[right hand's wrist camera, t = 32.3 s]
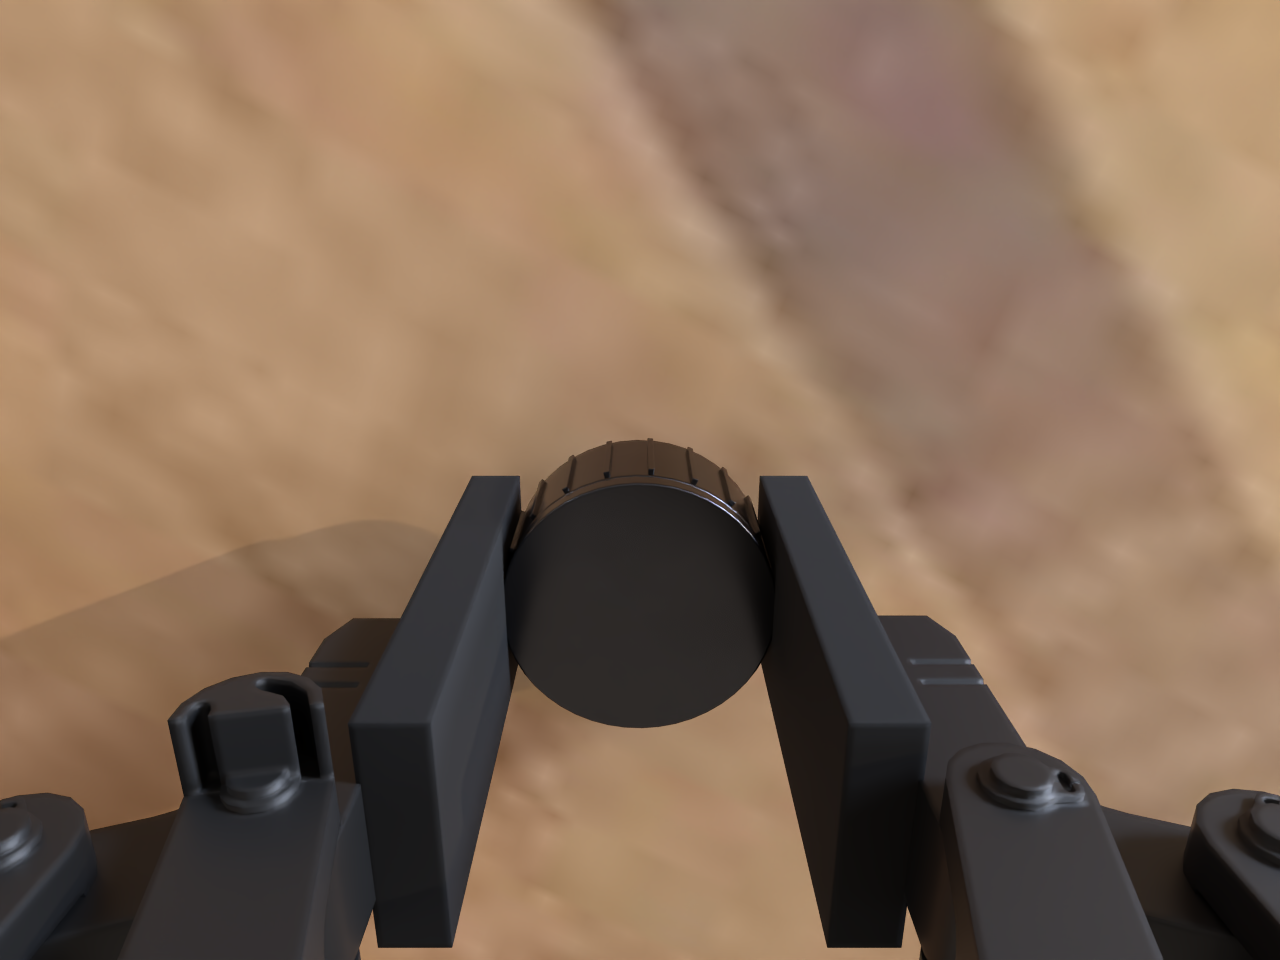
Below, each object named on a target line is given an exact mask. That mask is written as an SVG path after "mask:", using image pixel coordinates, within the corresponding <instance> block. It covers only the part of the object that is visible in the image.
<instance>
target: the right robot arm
mask: <svg viewBox="0 0 1280 960" xmlns="http://www.w3.org/2000/svg"><path fill="white" fill-rule="evenodd" d="M520 513H521V495H520V476H472V477H471V479H470V481H469V483H468V485H467V487H466V489H465V491H464V493H463V495H462V497H461V499H460V501H459V503H458V505H457V507H456V509H455V511H454V513H453V515H452V517H451V519H450V521H449V523H448V525H447V527H446V529H445V531H444V533H443V535H442V537H441V539H440V541H439V543H438V545H437V547H436V549H435V551H434V553H433V555H432V557H431V559H430V561H429V563H428V565H427V567H426V569H425V571H424V573H423V575H422V577H421V579H420V581H419V583H418V585H417V587H416V589H415V591H414V593H413V595H412V597H411V599H410V601H409V603H408V605H407V607H406V609H405V611H404V613H403V615H402V617H401V618H353V619H352V620H350V621H349V622H348V623H346V624H345V625H343V626H342V627H340V628H339V629H338V630H336V631H335V632H333V633H332V634H331V635H329V636H328V637H326V638H325V639H324V640H323V642H322V643H321V645H320V646H319V648H318V650H317V651H316V653H315V654H314V656H313V657H312V659H311V661H310V662H309V667H306V668H305V670H304V672H303V673H302V675H301V676H300V675H296V674H293V673H289V672H259V673H254V674H249V675H244V676H239V677H234V678H230V679H228V680H225V681H223V682H220V683H217V684H215V685H212V686H210V687H207V688H205V689H203V690H201V691H200V692H198V693H197V694H195V695H194V696H192V697H191V698H189V699H188V700H186V701H184V702H183V703H181V705H180V706H179V707H178V708H177V709H176V711H175V712H174V713H173V714H172V716H171V717H170V718H169V719H168V720H167V721H168V725H169V730H170V734H171V739H172V744H173V748H174V753H175V757H176V762H177V767H178V771H179V776H180V780H181V785H182V789H183V794H184V798H183V800H182V803H181V805H180V808H179V809H178V810H175V811H172V812H168V813H165V814H161V815H158V816H154V817H151V818H146V819H141V820H137V821H132V822H127V823H123V824H118V825H113V826H109V827H104V828H100V829H95V830H90V831H89V828H88V824H87V820H86V817H85V813H84V809H83V808H82V807H81V806H80V805H79V804H77V803H76V802H75V801H74V800H73V799H72V798H71V797H66V796H61V795H56V794H51V793H40V794H29V795H19V796H14V797H11V798H6V799H2V800H1V801H0V960H361V958H360V951H359V947H360V944H361V941H362V938H363V935H364V932H365V930H366V927H367V924H368V921H369V918H370V915H371V912H372V909H373V914H374V921H375V929H376V936H377V944H378V948H452V946H453V941H454V937H455V933H456V929H457V924H458V920H459V916H460V911H461V907H462V903H463V899H464V894H465V890H466V886H467V881H468V877H469V873H470V869H471V864H472V860H473V856H474V851H475V847H476V843H477V838H478V834H479V830H480V826H481V821H482V817H483V813H484V808H485V804H486V800H487V796H488V791H489V787H490V783H491V778H492V774H493V770H494V765H495V761H496V757H497V753H498V748H499V744H500V740H501V735H502V731H503V727H504V723H505V718H506V714H507V710H508V705H509V701H510V697H511V692H512V688H513V684H514V680H515V675H516V671H517V667H518V663H517V661H516V660H515V658H514V656H513V654H512V652H511V649H510V647H509V645H508V642H507V629H506V612H505V595H504V578H505V574H506V571H507V568H508V564H509V561H510V558H511V555H512V553H509V552H508V550H509V547H510V544H511V541H512V538H513V535H514V532H515V529H516V525H517V522H518V519H519V516H520ZM758 524H759V527H760V530H761V533H762V539H763V543H764V546H765V549H766V552H767V556H768V559H769V562H770V565H771V569H772V573H773V576H774V580H775V601H774V618H773V634H772V641H771V643H770V645H769V648H768V650H767V652H766V655H765V657H764V658H763V660H762V662H761V665H762V669H763V673H764V678H765V682H766V686H767V691H768V695H769V699H770V703H771V708H772V712H773V716H774V721H775V725H776V729H777V734H778V738H779V742H780V746H781V751H782V755H783V759H784V764H785V768H786V772H787V776H788V781H789V785H790V789H791V794H792V798H793V802H794V807H795V811H796V815H797V819H798V824H799V828H800V832H801V837H802V841H803V845H804V850H805V854H806V858H807V862H808V867H809V871H810V875H811V880H812V884H813V888H814V892H815V897H816V901H817V905H818V910H819V914H820V918H821V923H822V927H823V931H824V935H825V940H826V944H827V948H901V947H902V939H903V932H904V924H905V917H906V910H907V907H908V910H909V912H910V915H911V918H912V921H913V924H914V927H915V930H916V932H917V935H918V938H919V941H920V944H921V951H920V958H919V960H1280V796H1279V795H1274V794H1270V793H1266V792H1262V791H1251V790H1240V789H1230V790H1225V791H1219V792H1214V793H1210V794H1209V795H1207V796H1206V797H1205V798H1204V799H1203V800H1202V801H1201V802H1200V803H1198V804H1197V806H1196V810H1195V814H1194V817H1193V821H1192V825H1191V827H1189V826H1184V825H1179V824H1175V823H1170V822H1166V821H1161V820H1156V819H1152V818H1147V817H1142V816H1138V815H1133V814H1128V813H1125V812H1121V811H1118V810H1114V809H1111V808H1107V807H1104V806H1101V805H1100V804H1099V801H1098V799H1097V796H1096V795H1095V793H1094V792H1093V790H1092V789H1091V787H1090V786H1089V785H1088V783H1087V782H1086V780H1085V779H1084V777H1083V776H1081V775H1080V774H1079V773H1077V772H1076V771H1075V770H1073V769H1072V768H1071V767H1069V766H1068V765H1067V764H1065V763H1064V762H1063V761H1061V760H1059V759H1057V758H1054V757H1052V756H1050V755H1048V754H1045V753H1043V752H1041V751H1039V750H1036V749H1033V748H1029V747H1026V745H1025V744H1024V742H1023V741H1022V739H1021V737H1020V736H1019V734H1018V733H1017V731H1016V730H1015V728H1014V727H1013V725H1012V723H1011V722H1010V720H1009V719H1008V717H1007V716H1006V714H1005V712H1004V711H1003V709H1002V708H1001V706H1000V705H999V703H998V702H997V700H996V698H995V697H994V695H993V694H992V692H991V691H990V689H989V688H988V686H987V684H984V683H983V678H982V677H981V675H980V673H979V672H978V670H977V669H976V667H975V666H974V664H971V659H970V658H969V656H968V655H967V653H966V652H965V650H964V649H963V647H962V645H961V644H960V642H959V641H958V639H957V638H956V636H955V635H953V634H952V633H950V632H949V631H948V630H946V629H945V628H943V627H942V626H941V625H939V624H938V623H936V622H935V621H933V620H932V619H931V618H929V617H928V616H877V614H876V612H875V610H874V608H873V606H872V604H871V602H870V600H869V598H868V596H867V594H866V592H865V590H864V588H863V586H862V584H861V582H860V580H859V578H858V576H857V574H856V572H855V570H854V568H853V566H852V564H851V562H850V560H849V558H848V556H847V554H846V552H845V550H844V548H843V546H842V544H841V542H840V540H839V538H838V536H837V534H836V532H835V530H834V528H833V526H832V524H831V522H830V520H829V518H828V516H827V514H826V512H825V510H824V508H823V506H822V504H821V502H820V501H819V499H818V497H817V495H816V493H815V491H814V489H813V487H812V485H811V483H810V481H809V479H808V477H807V476H760V484H759V504H758Z"/></svg>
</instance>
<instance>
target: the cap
mask: <svg viewBox="0 0 1280 960" xmlns="http://www.w3.org/2000/svg"><path fill="white" fill-rule="evenodd" d="M508 552H509V553H512V555H511V558H510V561H509V564H508V568H507V571H506V574H505V578H504V595H505V612H506V629H507V642H508V645H509V647H510V649H511V652H512V654H513V656H514V658H515V660H516V661H517V663H518V665H519V666H520V668H521V669H522V671H523V672H524V674H525V675H526V676H527V677H528V678H529V680H530V681H531V682H532V683H533V684H534V685H535V686H536V687H537V688H538V689H539V690H540V691H541V692H542V693H543V694H545V695H546V696H547V697H548V698H549V699H551V700H552V701H554V702H555V703H557V704H558V705H559V706H561V707H563V708H565V709H567V710H568V711H570V712H572V713H574V714H576V715H579V716H581V717H584V718H586V719H589V720H591V721H595V722H599V723H603V724H606V725H612V726H619V727H627V728H649V727H661V726H666V725H671V724H676V723H680V722H683V721H686V720H689V719H692V718H695V717H697V716H699V715H702V714H704V713H706V712H708V711H710V710H712V709H713V708H715V707H717V706H719V705H720V704H722V703H723V702H725V701H726V700H727V699H729V698H730V697H731V696H733V695H734V694H735V693H736V692H737V691H738V690H739V689H740V688H741V687H742V686H743V685H744V684H745V683H746V682H747V681H748V680H749V679H750V677H751V676H752V675H753V674H754V672H755V671H756V670H757V668H758V667H759V665H760V663H761V662H762V660H763V658H764V657H765V655H766V652H767V650H768V648H769V645H770V643H771V641H772V634H773V618H774V601H775V580H774V576H773V573H772V569H771V565H770V562H769V559H768V556H767V552H766V549H765V546H764V543H763V539H762V533H761V530H760V527H759V524H758V520H757V517H756V514H755V511H754V508H753V505H752V501H751V499H750V497H749V496H746V497H745V495H744V494H743V493H742V491H741V490H740V488H739V487H738V486H737V484H736V483H735V482H734V481H733V480H732V479H731V478H730V477H729V476H728V474H727V470H726V469H725V468H724V467H722V468H721V469H720V468H719V467H718V466H717V465H715V464H714V463H712V462H711V461H709V460H708V459H706V458H704V457H703V456H701V455H699V454H697V453H695V452H693V449H692V448H690V447H688V448H687V449H686V448H682V447H679V446H676V445H673V444H669V443H663V442H657V441H653V439H651V438H648V439H647V441H646V440H632V441H620V442H615V443H612V441H608V442H607V443H606V444H605V445H602V446H599V447H596V448H593V449H590V450H588V451H586V452H584V453H582V454H580V455H578V456H576V457H575V456H574V455H572V456H570V457H569V460H568V462H566V463H565V464H563V465H562V466H560V467H559V468H558V469H557V470H556V471H554V472H553V473H552V474H551V475H550V476H549V477H548V478H547V479H546V480H545V481H544V480H543V479H542V480H541V481H540V482H539V485H538V488H537V491H536V493H535V495H534V496H533V498H532V499H531V501H530V503H529V505H528V507H527V509H526V511H525V512H524V511H521V513H520V516H519V519H518V522H517V525H516V529H515V532H514V535H513V538H512V541H511V544H510V547H509V550H508Z"/></svg>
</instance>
